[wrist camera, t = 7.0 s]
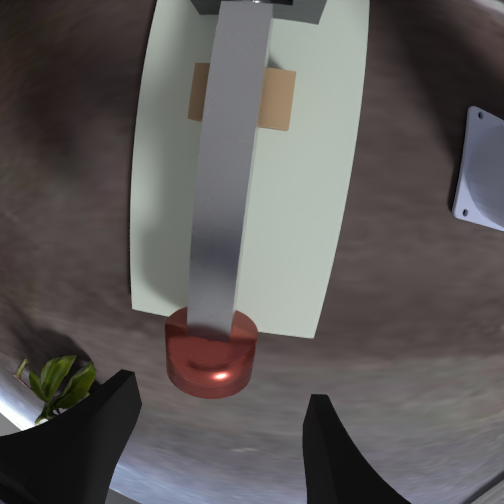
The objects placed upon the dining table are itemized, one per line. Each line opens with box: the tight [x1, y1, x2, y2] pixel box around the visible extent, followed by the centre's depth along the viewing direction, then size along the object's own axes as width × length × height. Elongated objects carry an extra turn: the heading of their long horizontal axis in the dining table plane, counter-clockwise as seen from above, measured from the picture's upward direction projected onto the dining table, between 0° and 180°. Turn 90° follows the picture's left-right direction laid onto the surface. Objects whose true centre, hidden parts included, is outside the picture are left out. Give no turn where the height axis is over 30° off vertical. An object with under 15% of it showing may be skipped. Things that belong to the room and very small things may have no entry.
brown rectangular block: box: [187, 63, 296, 131], centre depth 15 cm, size 5×3×2 cm, turn 83°
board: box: [130, 0, 369, 338], centre depth 17 cm, size 13×27×1 cm, turn 173°
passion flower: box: [13, 355, 96, 426], centre depth 23 cm, size 11×11×12 cm
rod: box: [165, 0, 274, 399], centre depth 14 cm, size 5×21×5 cm, turn 173°
